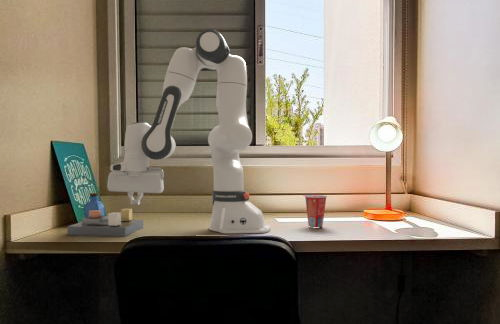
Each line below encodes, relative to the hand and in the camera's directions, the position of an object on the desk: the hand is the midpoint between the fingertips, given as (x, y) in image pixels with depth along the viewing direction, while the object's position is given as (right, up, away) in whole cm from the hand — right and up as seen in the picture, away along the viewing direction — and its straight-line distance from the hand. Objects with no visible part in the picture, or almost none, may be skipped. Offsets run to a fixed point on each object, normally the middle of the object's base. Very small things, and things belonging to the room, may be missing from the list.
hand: (135, 204), depth 134 cm
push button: (-13, -4, -4) cm, 14 cm away
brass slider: (-3, -6, 0) cm, 7 cm away
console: (-9, -9, -4) cm, 13 cm away
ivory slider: (-4, -6, -9) cm, 12 cm away
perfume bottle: (-20, -9, +12) cm, 26 cm away
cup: (+66, -10, +6) cm, 67 cm away
